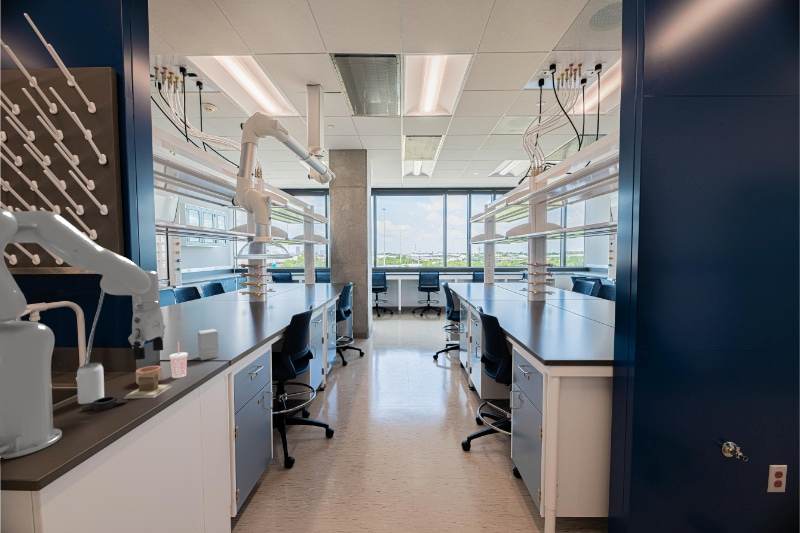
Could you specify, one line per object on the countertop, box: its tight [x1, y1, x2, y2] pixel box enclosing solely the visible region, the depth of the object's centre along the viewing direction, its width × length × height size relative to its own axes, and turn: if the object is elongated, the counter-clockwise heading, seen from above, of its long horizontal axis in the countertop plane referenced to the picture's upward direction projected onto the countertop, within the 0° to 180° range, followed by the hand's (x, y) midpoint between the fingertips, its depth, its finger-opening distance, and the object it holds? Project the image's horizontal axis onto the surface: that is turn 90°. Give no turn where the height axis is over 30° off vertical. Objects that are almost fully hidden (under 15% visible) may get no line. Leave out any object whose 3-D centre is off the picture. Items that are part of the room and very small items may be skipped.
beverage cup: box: [169, 341, 189, 379], centre depth 134 cm, size 6×6×14 cm
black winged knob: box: [81, 395, 128, 412], centre depth 107 cm, size 8×10×3 cm
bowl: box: [135, 365, 162, 385], centre depth 129 cm, size 8×8×5 cm
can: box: [76, 362, 105, 405], centre depth 112 cm, size 6×6×12 cm
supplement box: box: [197, 328, 219, 361], centre depth 160 cm, size 7×7×13 cm
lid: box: [125, 374, 171, 399], centre depth 118 cm, size 9×9×6 cm
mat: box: [123, 385, 173, 400], centre depth 118 cm, size 10×10×1 cm
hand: (149, 354), depth 119 cm, fingers open, 9 cm apart
